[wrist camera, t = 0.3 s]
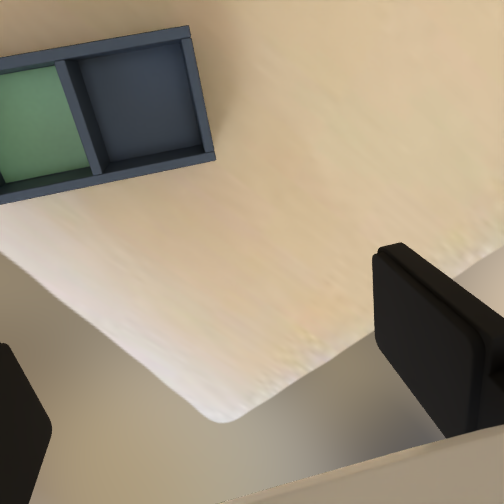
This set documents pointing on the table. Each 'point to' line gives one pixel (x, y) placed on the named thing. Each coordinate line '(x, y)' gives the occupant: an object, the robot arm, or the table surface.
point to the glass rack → (100, 113)
